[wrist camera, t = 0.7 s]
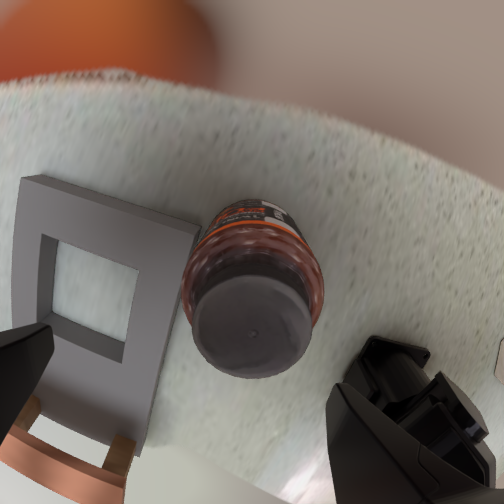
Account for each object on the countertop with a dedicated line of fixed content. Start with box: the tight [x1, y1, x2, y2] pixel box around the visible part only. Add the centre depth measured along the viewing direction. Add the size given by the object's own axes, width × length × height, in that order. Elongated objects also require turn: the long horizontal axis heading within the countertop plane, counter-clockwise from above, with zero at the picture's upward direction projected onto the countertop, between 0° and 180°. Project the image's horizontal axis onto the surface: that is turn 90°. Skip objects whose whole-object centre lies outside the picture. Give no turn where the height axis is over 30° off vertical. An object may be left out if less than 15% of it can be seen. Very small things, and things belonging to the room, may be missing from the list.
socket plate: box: [11, 175, 201, 457], centre depth 22 cm, size 13×22×2 cm, turn 161°
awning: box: [0, 394, 137, 504], centre depth 19 cm, size 13×6×8 cm, turn 71°
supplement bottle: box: [181, 200, 324, 379], centre depth 16 cm, size 6×6×11 cm
